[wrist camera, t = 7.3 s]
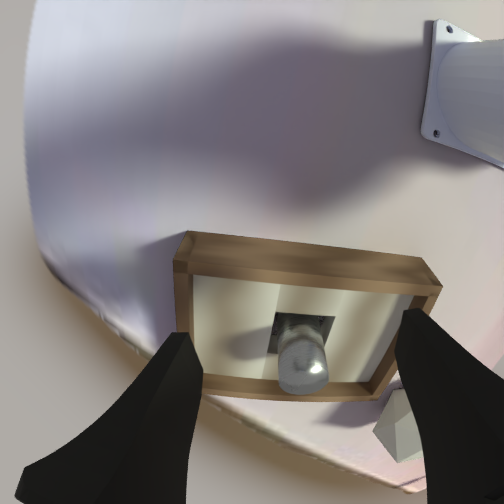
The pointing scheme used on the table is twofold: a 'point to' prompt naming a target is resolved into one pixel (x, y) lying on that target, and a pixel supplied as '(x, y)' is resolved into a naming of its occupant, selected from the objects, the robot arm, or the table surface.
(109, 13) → the table surface
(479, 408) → the robot arm
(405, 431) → the die
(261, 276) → the peg box
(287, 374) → the peg
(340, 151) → the table surface
